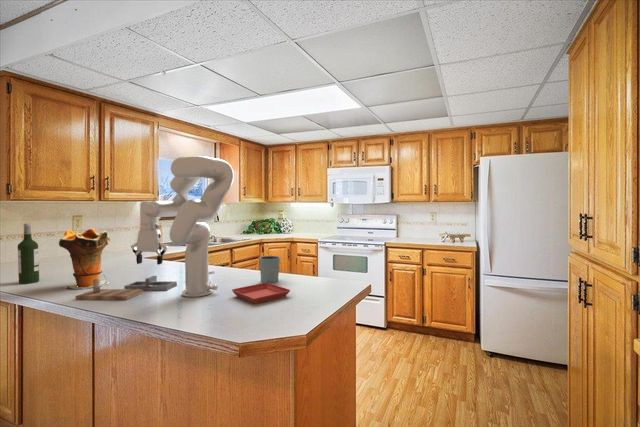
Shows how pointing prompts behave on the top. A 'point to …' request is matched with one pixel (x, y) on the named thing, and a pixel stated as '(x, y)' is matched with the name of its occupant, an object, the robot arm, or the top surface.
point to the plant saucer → (260, 292)
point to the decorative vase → (85, 255)
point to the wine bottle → (28, 258)
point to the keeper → (108, 293)
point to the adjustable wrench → (212, 272)
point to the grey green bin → (269, 268)
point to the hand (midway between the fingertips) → (149, 263)
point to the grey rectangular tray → (151, 284)
